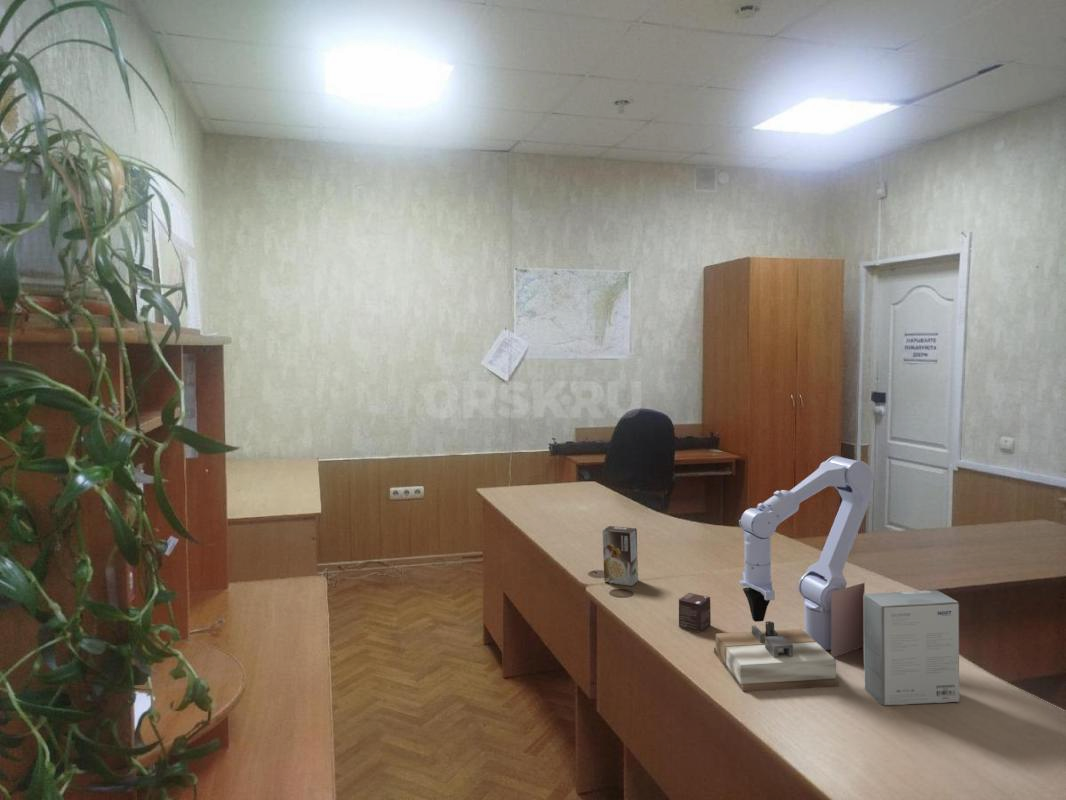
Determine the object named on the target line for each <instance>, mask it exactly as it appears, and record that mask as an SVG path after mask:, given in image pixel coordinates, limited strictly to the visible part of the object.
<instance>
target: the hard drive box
mask: <svg viewBox="0 0 1066 800" xmlns="http://www.w3.org/2000/svg"><path fill="white" fill-rule="evenodd" d="M863 597H864V689H865V690H866V691H867V692H868V693H869V694H870V695H871V696H872V697H873V698H874V699H875V700H876V701H877V702H878V703H879V704H881V705H882V706H904V705H917V704H946V703H957V702H958V703H959V702H960V603H959V601H958V600H956V599H954V598H952V597H951V596H949V595H947V594H945V593H943V592H941V590H938V589H930V590H929V589H928V590H909V591H907V590H905V591H895V592H894V591H893V592H891V591H890V592H877V593H865V594H863Z"/></svg>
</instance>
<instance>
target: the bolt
mask: <svg viewBox="0 0 1066 800" xmlns="http://www.w3.org/2000/svg"><path fill="white" fill-rule="evenodd" d="M774 630H775V623H774V622H773V621H766V622H765V631H766V635H765V637H769V636H774ZM778 653H784V649H778Z"/></svg>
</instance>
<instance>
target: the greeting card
mask: <svg viewBox="0 0 1066 800" xmlns="http://www.w3.org/2000/svg"><path fill="white" fill-rule="evenodd" d="M865 589H866V583H865V582H861V583H858V584H854V585H851V586H848V587H847V586H846V587H845V588H844V589H840V590H837V591H833V592H831V650H830V652H831V653H830V655H831V656H832V657H833V658H835V657H837V656H840V655H843V654H846V653H848V652H851V651H854V650H857V649H860V648H863V650H862V658H863V659H862V660H863V661H862V665H865V662H864V597H863V594H866V593H865Z"/></svg>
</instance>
